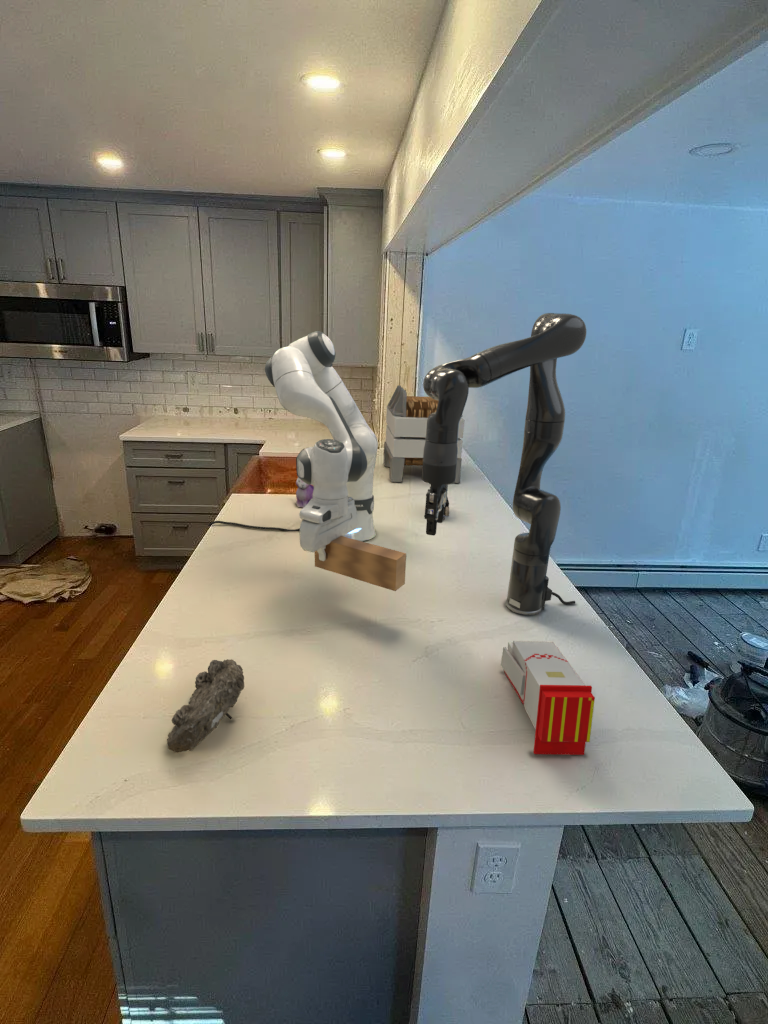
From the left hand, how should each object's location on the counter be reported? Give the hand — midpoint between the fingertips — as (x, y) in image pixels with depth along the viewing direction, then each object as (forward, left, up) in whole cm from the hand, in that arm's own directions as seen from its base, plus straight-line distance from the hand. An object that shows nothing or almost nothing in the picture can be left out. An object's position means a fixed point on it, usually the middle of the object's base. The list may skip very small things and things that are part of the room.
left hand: (330, 555), depth 147 cm
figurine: (-37, +71, -14) cm, 81 cm away
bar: (+8, -2, -3) cm, 9 cm away
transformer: (-6, +135, -14) cm, 135 cm away
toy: (+55, -25, -14) cm, 62 cm away
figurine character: (+15, +79, -14) cm, 82 cm away
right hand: (+27, -5, +13) cm, 31 cm away
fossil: (-5, -49, -14) cm, 51 cm away
